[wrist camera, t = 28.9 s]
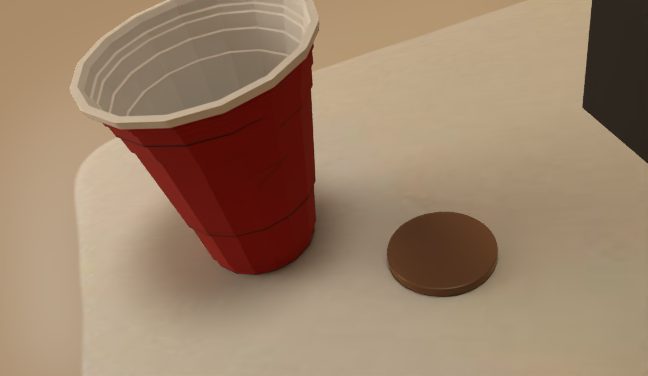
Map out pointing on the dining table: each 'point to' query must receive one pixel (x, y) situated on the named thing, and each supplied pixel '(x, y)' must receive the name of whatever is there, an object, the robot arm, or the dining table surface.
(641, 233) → the dining table surface
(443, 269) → the brown round coaster
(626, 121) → the robot arm
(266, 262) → the plastic cup
